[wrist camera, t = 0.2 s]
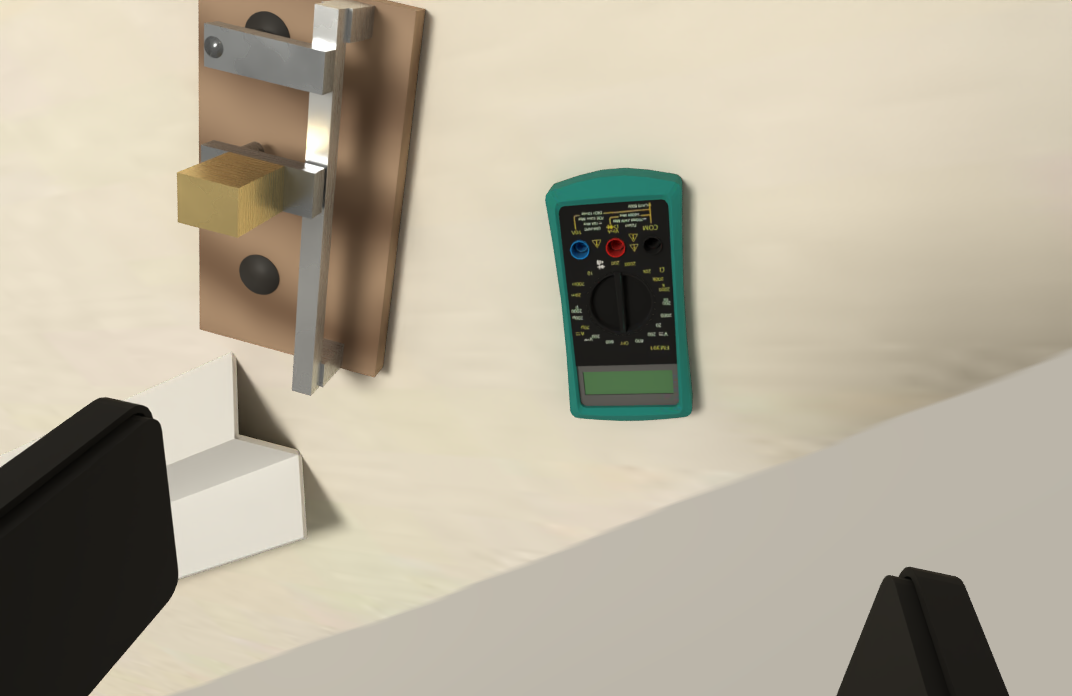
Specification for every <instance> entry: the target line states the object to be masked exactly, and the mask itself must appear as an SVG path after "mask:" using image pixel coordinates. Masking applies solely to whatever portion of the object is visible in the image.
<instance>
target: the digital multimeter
mask: <svg viewBox="0 0 1072 696" xmlns="http://www.w3.org/2000/svg"><path fill="white" fill-rule="evenodd" d="M545 201H546V207H547V213H548V218H549V224H550V230H551V236H552V242H553V248H554V255H555V262H556V268H557V275H558V282H559V289H560V296H561V303H562V313H563V323H564V333H565V342H566V352H567V367H568V382H569V397H570V411H571V413H572V415H573V416H574V417H577V418H584V419H597V420H616V421H642V420H657V419H669V418H679V417H686V416H688V415H690V414H691V411H692V398H693V395H692V385H691V375H690V365H689V354H688V344H687V333H686V317H685V301H684V285H683V238H682V180H681V177H679V176H678V175H677V174H671V173H665V172H659V171H653V170H645V169H632V168H619V169H606V170H600V171H595V172H591V173H587V174H583V175H579V176H576V177H573V178H570V179H567V180H564V181H561V182H558V183H556V184H554V185H553V186H552V187H551V189H550V190H549V192H548V193H547V195H546V199H545ZM668 207H669V210H668ZM559 221H560V222H559ZM669 224H670V228H669ZM670 242H671V246H670ZM671 262H672V264H671ZM611 272H613V273H611ZM642 279H643V280H642ZM672 281H673V282H672ZM594 282H595V283H594ZM648 285H649V286H648ZM588 312H589V313H588ZM593 321H594V322H593ZM599 327H600V328H599ZM608 332H609V333H608ZM635 332H636V333H635ZM611 333H612V334H611ZM615 334H616V335H615ZM628 334H629V335H628ZM675 335H676V336H675ZM676 353H677V354H676Z"/></svg>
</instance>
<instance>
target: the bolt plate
mask: <svg viewBox="0 0 1072 696" xmlns="http://www.w3.org/2000/svg"><path fill="white" fill-rule="evenodd" d="M424 17H425V9H422V8H418V7H414V6H409V5H405V4H401V3H396V2H392V1H388V0H199V163H201V144H204V143H207V142H210V141H212V140H216V141H220V142H224V143H228V144H232V145H236V146H240V147H241V146H243V145H246V144H248V143H251V142H258V143H260V144H261V145H262V146H263V148H264V153H268V154H272V155H276V156H280V157H284V158H287V159H291V160H295V161H299V162H303V163H307V164H311V165H315V166H319V167H323V168H325V174H324V188H323V203H322V213H320V214H319V215H317V216H316V217H314V218H313V219H310V218H306V217H302V216H298V215H294V214H290V213H287V212H283V211H282V212H281V213H279V214H277V215H276V216H274V217H272V218H270V219H269V220H267V221H265V222H264V223H262V224H260V225H259V226H257V227H255V228H254V229H252V230H250V231H249V232H247V233H245V234H243V235H242V236H240V237H238V238H236V237H232V236H228V235H225V234H221V233H217V232H213V231H209V230H206V229H202V228H199V257H200V329H201V330H204V331H208V332H212V333H215V334H219V335H223V336H226V337H230V338H233V339H237V340H241V341H244V342H248V343H252V344H255V345H259V346H263V347H266V348H270V349H273V350H277V351H281V352H284V353H288V354H292V355H294V365H293V382H292V391H296V392H299V393H303V394H307V395H310V396H311V395H312V394H313V393H314V392H315V391H316V390H317V389H318V387H319V386H321V387H323V386H324V385H325V384H326V383H327V382H328V381H329V380H330V379H331V377H332V376H333V375H334V374H335V373H336V372H337V371H338V370H339V369H340V368H343V369H346V370H350V371H354V372H357V373H361V374H364V375H368V376H372V377H375V376H376V375H377V374H378V372H379V371H380V370H381V369H382V367H383V363H384V354H385V346H386V338H387V329H388V321H389V312H390V304H391V295H392V287H393V279H394V270H395V262H396V253H397V245H398V236H399V228H400V220H401V211H402V203H403V194H404V186H405V177H406V169H407V161H408V152H409V144H410V135H411V127H412V118H413V110H414V102H415V93H416V85H417V76H418V68H419V59H420V51H421V43H422V34H423V26H424Z"/></svg>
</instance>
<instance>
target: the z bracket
mask: <svg viewBox="0 0 1072 696" xmlns="http://www.w3.org/2000/svg"><path fill="white" fill-rule="evenodd" d="M122 401H126V402H131V403H135V404H140V405H144V406H146V407H148V408H149V410H150V411H151V413H152V416H153V419H156V420H158V421H159V423H160V424H161V428H162V433H163V442H164V451H165V459H166V468H167V476H168V485H169V494H170V502H171V511H172V520H173V528H174V537H175V545H176V554H177V563H178V580H179V579H182V578H185V577H188V576H191V575H194V574H197V573H201V572H204V571H207V570H210V569H213V568H216V567H219V566H222V565H225V564H228V563H231V562H235V561H238V560H241V559H244V558H247V557H250V556H253V555H256V554H259V553H262V552H265V551H269V550H272V549H275V548H278V547H281V546H284V545H287V544H290V543H293V542H296V541H300V540H303V539H306V538H307V526H306V510H305V495H304V479H303V464H302V455H301V454H300V453H299V451H298V450H296V449H293V448H289V447H285V446H281V445H277V444H274V443H270V442H266V441H262V440H258V439H255V438H251V437H247V436H243V435H239V428H238V396H237V365H236V357H235V355H234V354H233V352H230V353H228V354H225V355H223V356H221V357H219V358H216V359H214V360H212V361H210V362H207V363H205V364H203V365H201V366H198V367H196V368H194V369H192V370H190V371H187V372H185V373H183V374H181V375H178V376H176V377H174V378H172V379H169V380H167V381H165V382H163V383H160V384H158V385H156V386H154V387H152V388H149V389H147V390H145V391H143V392H140V393H138V394H136V395H134V396H131V397H129V398H127V399H125V400H122ZM44 436H45V435H44ZM42 437H43V436H42ZM42 437H40V438H38V439H35V440H33V441H31V442H29V443H26V444H24V445H22V446H20V447H17V448H15V449H13V450H11V451H8V452H6V453H4V454H2V455H0V467H1V466H3V465H4V464H5V463H7V462H8V461H10V460H11V459H13V458H14V457H15V456H17V455H18V454H20V453H21V452H22V451H24V450H25V449H27V448H28V447H29V446H31V445H32V444H34V443H35V442H36V441H38V440H39V439H41V438H42Z"/></svg>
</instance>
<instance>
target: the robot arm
mask: <svg viewBox="0 0 1072 696" xmlns="http://www.w3.org/2000/svg"><path fill="white" fill-rule="evenodd" d="M177 582H178V563H177V554H176V545H175V537H174V528H173V520H172V511H171V502H170V494H169V485H168V476H167V468H166V459H165V451H164V442H163V433H162V428H161V424H160V423H159V421H158V420H156V419H153V416H152V413H151V411H150V410H149V408H148V407H146V406H144V405H140V404H135V403H131V402H126V401H121V400H116V399H112V398H107V397H105V398H99V399H97V400H94V401H93V402H91V403H90V404H88V405H87V406H86V407H84V408H83V409H81V410H80V411H79V412H77V413H76V414H74V415H73V416H72V417H70V418H69V419H67V420H66V421H65V422H63V423H62V424H60V425H59V426H57V427H56V428H55V429H53V430H52V431H50V432H49V433H48V434H46V435H45V436H43V437H42V438H41V439H39V440H38V441H36V442H35V443H34V444H32V445H31V446H29V447H28V448H27V449H25V450H24V451H22V452H21V453H20V454H18V455H17V456H15V457H14V458H13V459H11V460H10V461H8V462H7V463H5V464H4V465H3V466H1V467H0V696H88V695H89V694H90V693H91V692H92V691H93V689H94V688H95V687H96V686H97V685H98V683H99V682H100V681H101V680H102V679H103V678H104V676H105V675H106V674H107V673H108V672H109V671H110V669H111V668H112V667H113V666H114V665H115V663H116V662H117V661H118V660H119V659H120V658H121V656H122V655H123V654H124V653H125V652H126V651H127V649H128V648H129V647H130V646H131V645H132V643H133V642H134V641H135V640H136V639H137V638H138V636H139V635H140V634H141V633H142V632H143V631H144V629H145V628H146V627H147V626H148V625H149V623H150V622H151V621H152V620H153V619H154V618H155V616H156V615H157V614H158V613H159V612H160V610H161V609H162V608H163V607H164V606H165V605H166V603H167V602H168V601H169V599H170V598H171V597H172V595H173V593H174V591H175V588H176V585H177ZM837 696H1009V694H1008V692H1007V689H1006V687H1005V684H1004V682H1003V679H1002V677H1001V674H1000V672H999V669H998V667H997V664H996V662H995V659H994V657H993V654H992V652H991V650H990V647H989V645H988V642H987V640H986V638H985V635H984V632H983V630H982V627H981V625H980V622H979V620H978V617H977V615H976V612H975V610H974V608H973V605H972V602H971V600H970V598H969V595H968V593H967V590H966V588H965V585H964V584H963V582H962V580H961V579H959V578H958V577H956V576H951V575H946V574H941V573H936V572H932V571H927V570H923V569H917V568H913V567H906V568H905V569H904V570H903V571H902V572H901V573H900V575H899V577H895V576H891V575H888V576H886V577H885V578H884V579H883V582H882V583H881V585H880V588H879V590H878V593H877V595H876V598H875V601H874V603H873V606H872V608H871V610H870V613H869V615H868V618H867V620H866V623H865V625H864V628H863V630H862V633H861V635H860V638H859V640H858V643H857V645H856V648H855V651H854V653H853V655H852V658H851V660H850V663H849V666H848V668H847V671H846V673H845V675H844V678H843V681H842V683H841V686H840V688H839V691H838V694H837Z"/></svg>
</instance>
